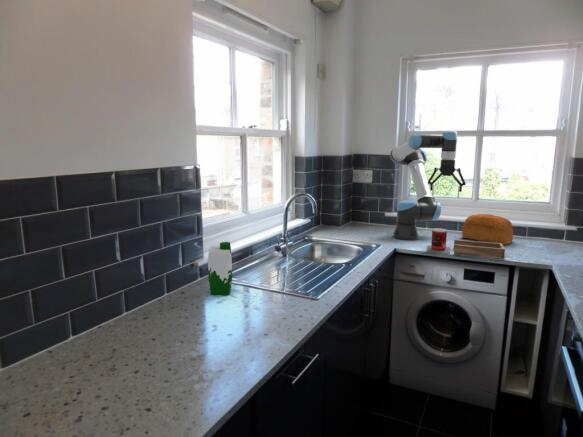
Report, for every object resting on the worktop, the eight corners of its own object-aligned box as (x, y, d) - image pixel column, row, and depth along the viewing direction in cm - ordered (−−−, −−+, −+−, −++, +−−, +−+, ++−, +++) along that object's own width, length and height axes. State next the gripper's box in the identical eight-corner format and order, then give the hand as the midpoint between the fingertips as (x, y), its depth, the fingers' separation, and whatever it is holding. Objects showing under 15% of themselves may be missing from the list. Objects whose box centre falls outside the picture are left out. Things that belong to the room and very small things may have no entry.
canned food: (443, 247, 232) (444, 228, 230) (447, 251, 224) (448, 231, 222) (429, 247, 233) (430, 228, 231) (432, 250, 225) (434, 231, 223)
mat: (427, 245, 237) (427, 245, 237) (449, 247, 233) (449, 247, 233) (426, 251, 224) (426, 251, 224) (449, 253, 220) (450, 253, 220)
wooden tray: (453, 248, 232) (454, 239, 231) (501, 252, 224) (501, 243, 223) (453, 254, 220) (454, 245, 219) (504, 258, 211) (505, 249, 210)
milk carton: (231, 296, 159) (230, 245, 155) (208, 296, 158) (206, 246, 154) (233, 288, 167) (231, 240, 164) (210, 288, 167) (208, 240, 163)
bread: (471, 234, 267) (473, 210, 264) (514, 242, 247) (517, 216, 245) (459, 238, 257) (460, 213, 254) (503, 246, 237) (506, 219, 234)
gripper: (424, 159, 231) (421, 196, 235) (472, 160, 222) (469, 199, 226) (425, 158, 238) (422, 194, 242) (472, 159, 229) (468, 197, 233)
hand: (445, 196), depth 234 cm, fingers open, 13 cm apart
